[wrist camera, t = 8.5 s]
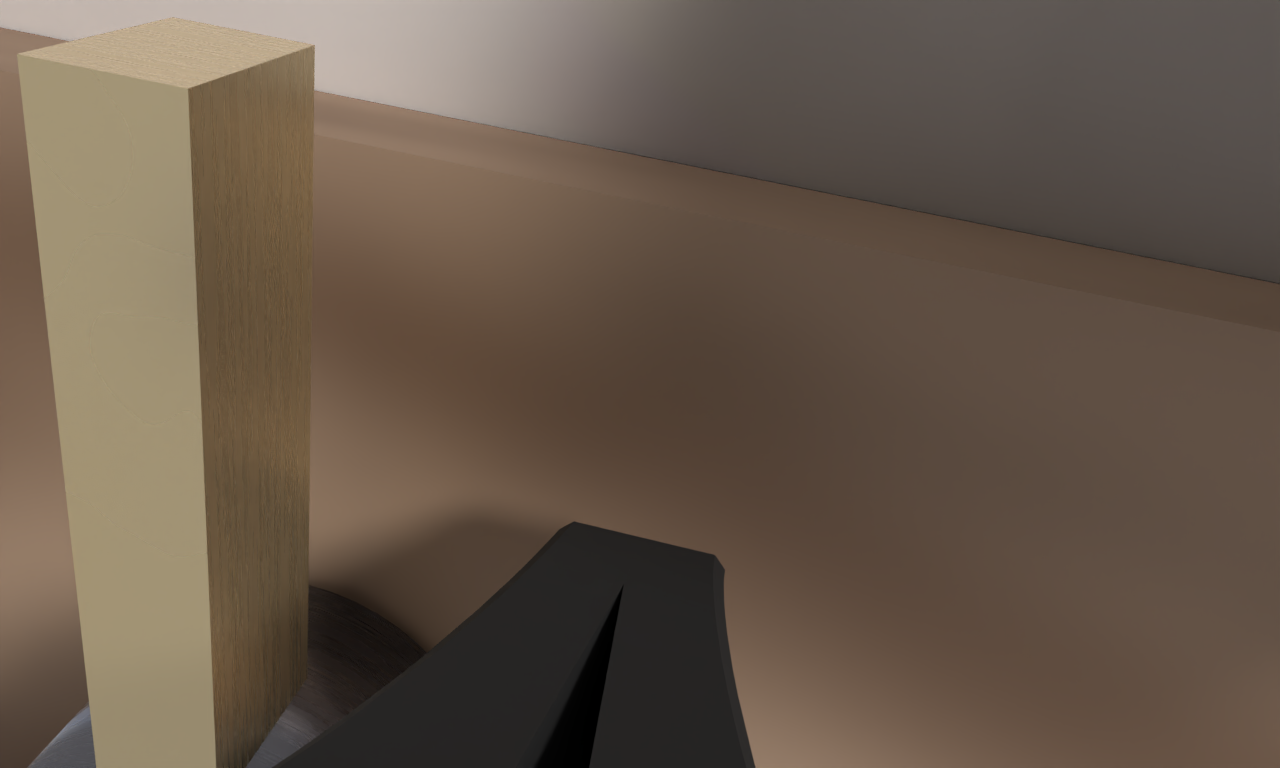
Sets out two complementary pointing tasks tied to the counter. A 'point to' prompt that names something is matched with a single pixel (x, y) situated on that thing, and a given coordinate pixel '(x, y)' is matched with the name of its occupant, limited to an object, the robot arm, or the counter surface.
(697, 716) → the robot arm
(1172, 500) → the brown knob panel
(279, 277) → the knob
